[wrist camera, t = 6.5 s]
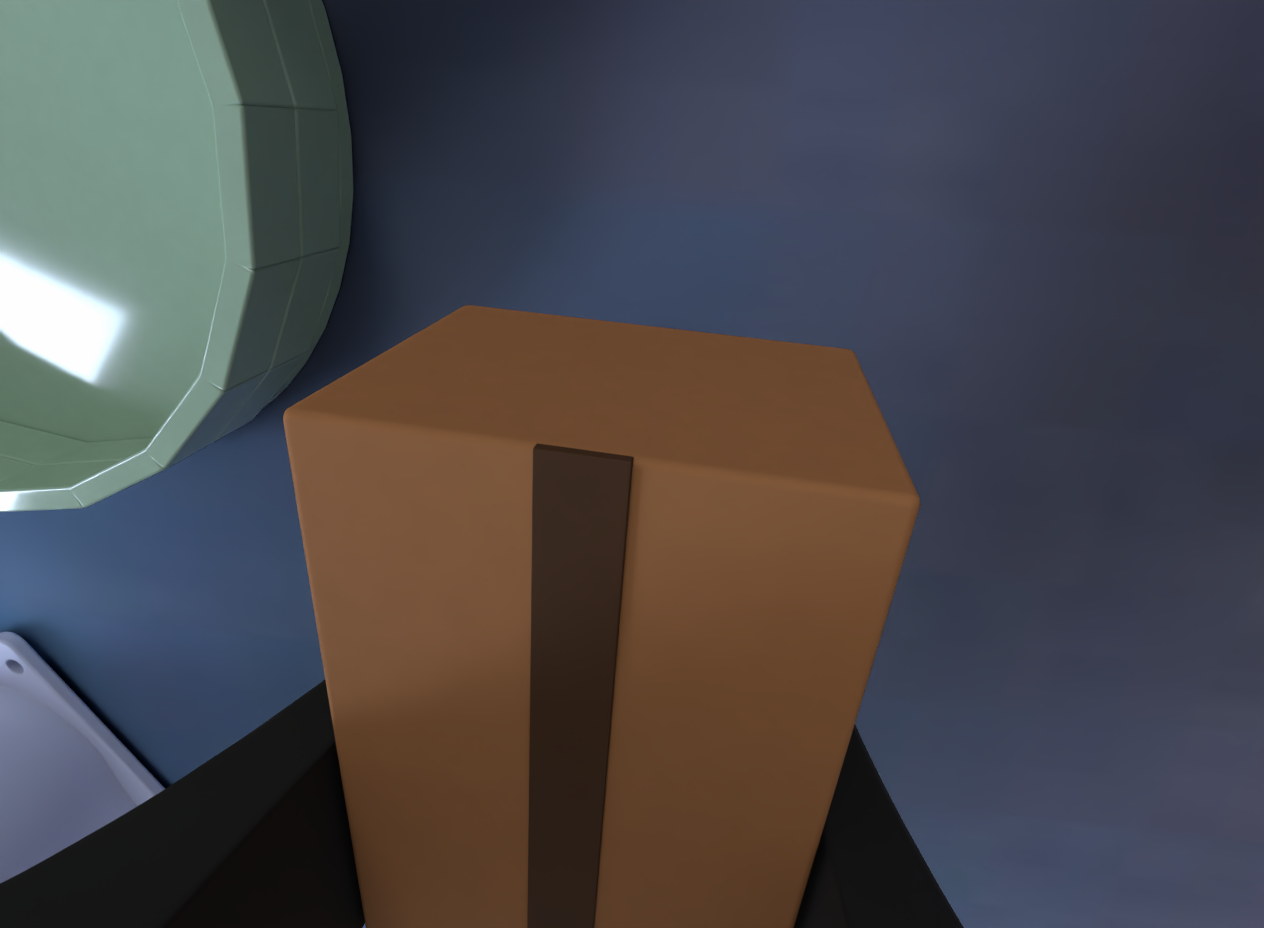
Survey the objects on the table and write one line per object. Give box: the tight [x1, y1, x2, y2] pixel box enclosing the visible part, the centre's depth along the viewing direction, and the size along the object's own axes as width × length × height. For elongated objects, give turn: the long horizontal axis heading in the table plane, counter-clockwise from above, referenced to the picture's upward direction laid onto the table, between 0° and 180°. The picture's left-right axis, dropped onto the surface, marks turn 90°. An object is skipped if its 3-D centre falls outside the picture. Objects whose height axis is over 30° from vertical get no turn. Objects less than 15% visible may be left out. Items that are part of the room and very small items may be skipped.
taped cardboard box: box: [283, 305, 920, 928], centre depth 9 cm, size 10×5×4 cm, turn 176°
